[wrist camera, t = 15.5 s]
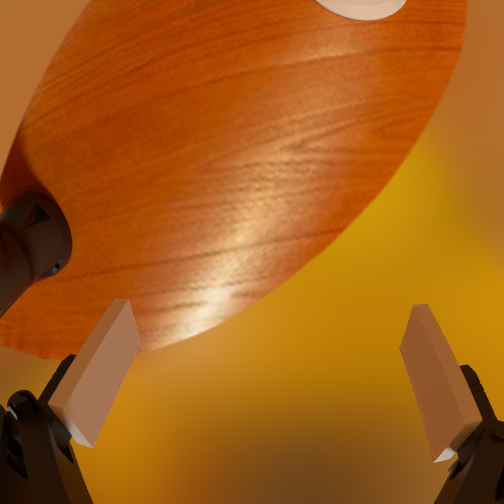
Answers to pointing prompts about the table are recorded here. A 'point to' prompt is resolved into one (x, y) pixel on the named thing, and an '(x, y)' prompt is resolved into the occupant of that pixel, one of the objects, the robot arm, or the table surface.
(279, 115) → the table surface
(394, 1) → the plate
